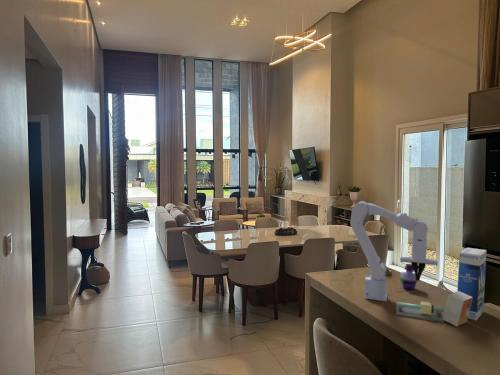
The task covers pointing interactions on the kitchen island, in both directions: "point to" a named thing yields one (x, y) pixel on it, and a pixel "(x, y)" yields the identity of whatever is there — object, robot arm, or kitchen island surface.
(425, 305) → the sleeve
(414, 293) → the kitchen island surface
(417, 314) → the teal rod on plate
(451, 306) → the small box
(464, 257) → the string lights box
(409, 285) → the potion bottle
